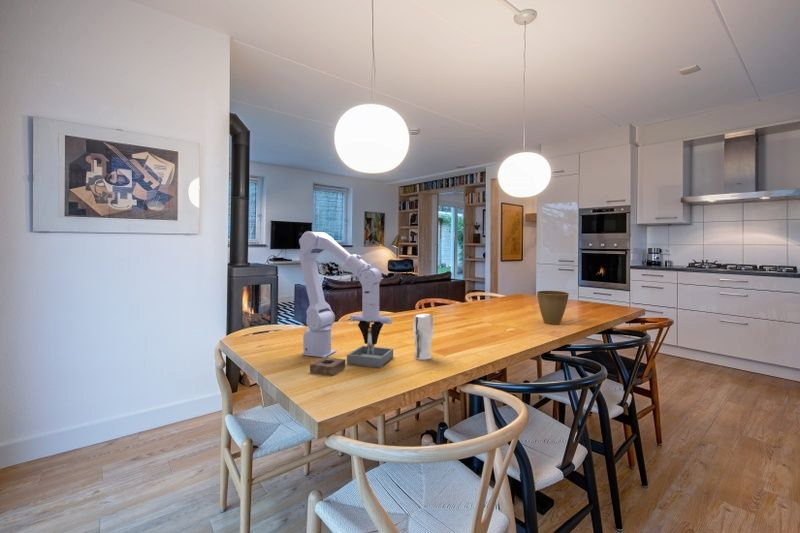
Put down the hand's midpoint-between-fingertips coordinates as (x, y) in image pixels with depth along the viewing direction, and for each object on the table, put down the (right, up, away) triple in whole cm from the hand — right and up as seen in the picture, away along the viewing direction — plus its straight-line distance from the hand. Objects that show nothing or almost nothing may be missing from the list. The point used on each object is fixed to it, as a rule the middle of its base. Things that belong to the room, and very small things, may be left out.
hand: (370, 343), depth 123 cm
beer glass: (+18, -6, +4) cm, 19 cm away
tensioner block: (-13, -6, -9) cm, 17 cm away
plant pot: (+88, -3, +62) cm, 108 cm away
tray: (0, -6, 0) cm, 6 cm away
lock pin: (0, -3, 0) cm, 3 cm away
